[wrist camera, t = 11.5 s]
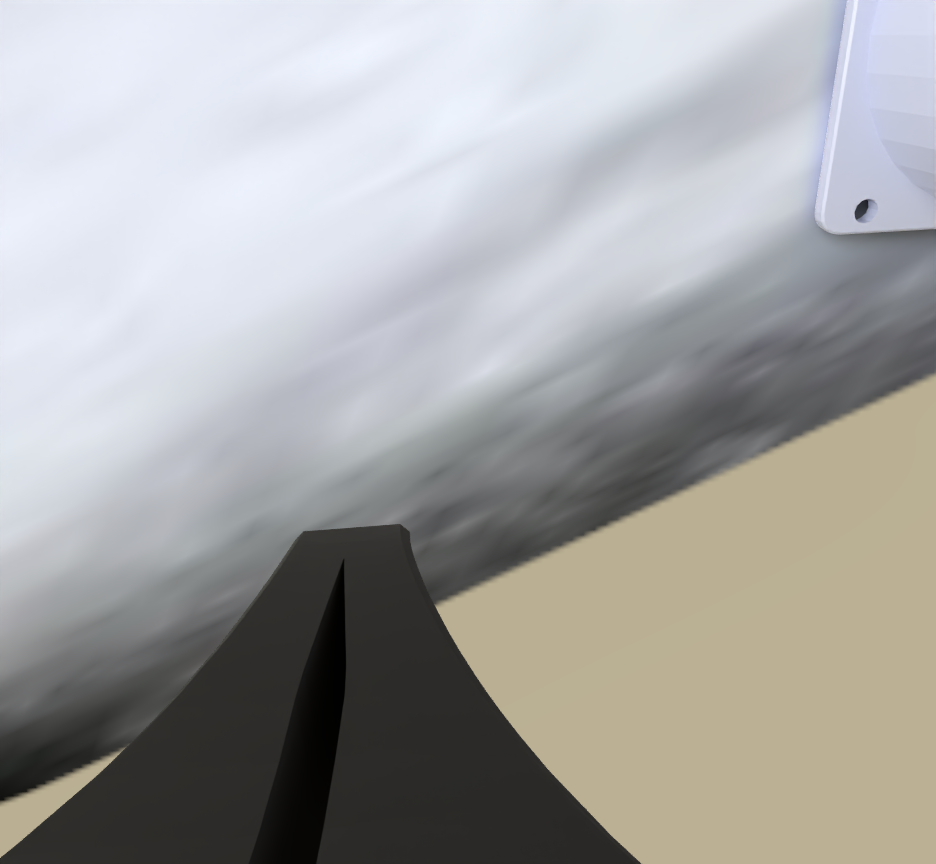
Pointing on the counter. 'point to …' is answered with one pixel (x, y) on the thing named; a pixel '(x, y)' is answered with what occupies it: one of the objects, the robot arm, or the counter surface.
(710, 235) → the counter surface
